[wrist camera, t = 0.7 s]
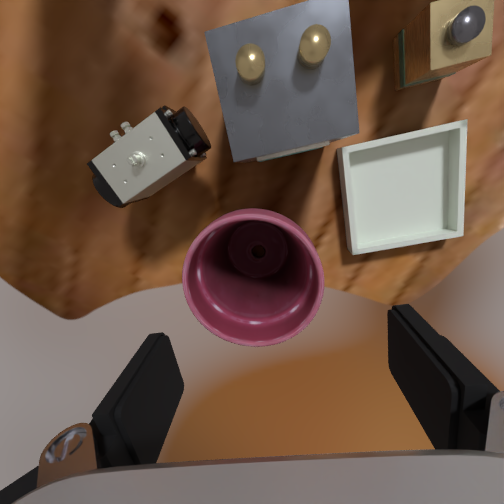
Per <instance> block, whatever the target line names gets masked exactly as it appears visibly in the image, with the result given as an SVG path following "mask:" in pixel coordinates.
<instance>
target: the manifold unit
mask: <svg viewBox="0 0 504 504" xmlns="http://www.w3.org/2000/svg"><path fill="white" fill-rule="evenodd" d="M205 36H206V41H207V45H208V50H209V54H210V58H211V63H212V67H213V72H214V76H215V81H216V85H217V90H218V94H219V98H220V103H221V107H222V112H223V116H224V121H225V125H226V130H227V134H228V138H229V143H230V147H231V152H232V156H233V161H234V162H251V161H256V160H257V161H259V162H262V161H266V160H270V159H275V158H279V157H283V156H288V155H292V154H297V153H301V152H305V151H310V150H314V149H318V148H322V147H323V146H327V145H330V144H329V143H331V142H334V141H337V140H340V139H343V138H346V137H349V136H352V135H355V134H358V133H359V123H358V111H357V98H356V86H355V74H354V61H353V49H352V37H351V24H350V12H349V0H308V1H305V2H302V3H298V4H295V5H292V6H289V7H285V8H282V9H279V10H275V11H272V12H269V13H265V14H262V15H259V16H255V17H252V18H249V19H246V20H242V21H239V22H236V23H232V24H229V25H226V26H222V27H219V28H216V29H213V30H209V31H206V32H205Z"/></svg>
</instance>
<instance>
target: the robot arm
mask: <svg viewBox="0 0 504 504" xmlns="http://www.w3.org/2000/svg"><path fill="white" fill-rule="evenodd" d="M388 363H389V369H390V371H391V374H392V375H393V377H394V379H395V380H396V382H397V384H398V386H399V388H400V389H401V391H402V393H403V394H404V396H405V398H406V400H407V401H408V403H409V405H410V407H411V408H412V410H413V412H414V413H415V415H416V417H417V418H418V420H419V422H420V424H421V425H422V427H423V429H424V431H425V432H426V434H427V436H428V438H429V439H430V441H431V443H432V445H433V446H434V448H435V450H400V451H377V452H376V451H374V452H354V453H332V454H312V455H294V456H275V457H255V458H238V459H220V460H203V461H187V462H171V463H156V462H157V459H158V457H159V454H160V451H161V449H162V446H163V444H164V441H165V438H166V436H167V433H168V430H169V428H170V425H171V422H172V419H173V417H174V415H175V412H176V409H177V407H178V404H179V401H180V399H181V396H182V394H183V390H184V382H183V379H182V376H181V373H180V370H179V367H178V364H177V361H176V358H175V354H174V352H173V348H172V345H171V342H170V339H169V337H168V336H167V335H165V334H164V333H154V334H149V335H148V337H147V338H146V339H145V341H144V342H143V344H142V345H141V346H140V348H139V349H138V351H137V352H136V353H135V355H134V356H133V358H132V359H131V360H130V362H129V363H128V365H127V366H126V368H125V369H124V370H123V372H122V373H121V375H120V376H119V377H118V379H117V380H116V382H115V383H114V385H113V386H112V387H111V389H110V390H109V391H108V393H107V394H106V396H105V397H104V399H103V400H102V401H101V403H100V404H99V406H98V407H97V409H96V410H95V411H94V413H93V414H92V417H93V419H92V420H91V422H90V423H89V424H87V423H79V424H75V425H73V426H71V427H69V428H66V429H65V430H63V431H62V432H60V433H59V434H58V435H56V436H55V437H54V438H53V439H52V440H51V441H50V442H49V443H48V444H47V446H46V447H45V449H44V450H43V452H42V453H41V456H40V460H39V466H37V467H36V468H34V469H33V470H31V471H30V472H28V473H27V474H25V475H24V476H22V477H20V478H19V479H17V480H16V481H14V482H13V483H12V484H10V485H9V486H7V487H5V488H4V489H3V490H1V491H0V504H504V391H501V392H500V391H499V390H498V389H497V388H496V387H495V386H494V385H493V384H492V383H491V382H490V381H489V380H488V379H487V378H486V377H485V376H484V375H483V374H482V373H481V372H480V371H479V370H478V369H477V368H476V367H475V366H474V365H473V364H472V363H471V362H470V361H469V360H468V359H467V358H466V357H465V356H464V355H463V354H462V353H461V352H460V351H459V350H458V349H457V348H456V347H455V346H454V345H453V344H452V343H451V342H450V341H449V340H448V339H447V338H445V337H444V336H441V335H439V334H438V333H437V332H436V331H435V330H434V329H433V328H432V327H431V326H430V325H429V324H428V323H427V322H426V321H425V320H424V319H423V318H422V317H421V316H420V315H419V314H418V313H417V312H416V311H415V310H414V309H413V308H412V307H411V306H410V305H409V304H403V305H395V306H392V310H388Z"/></svg>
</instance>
